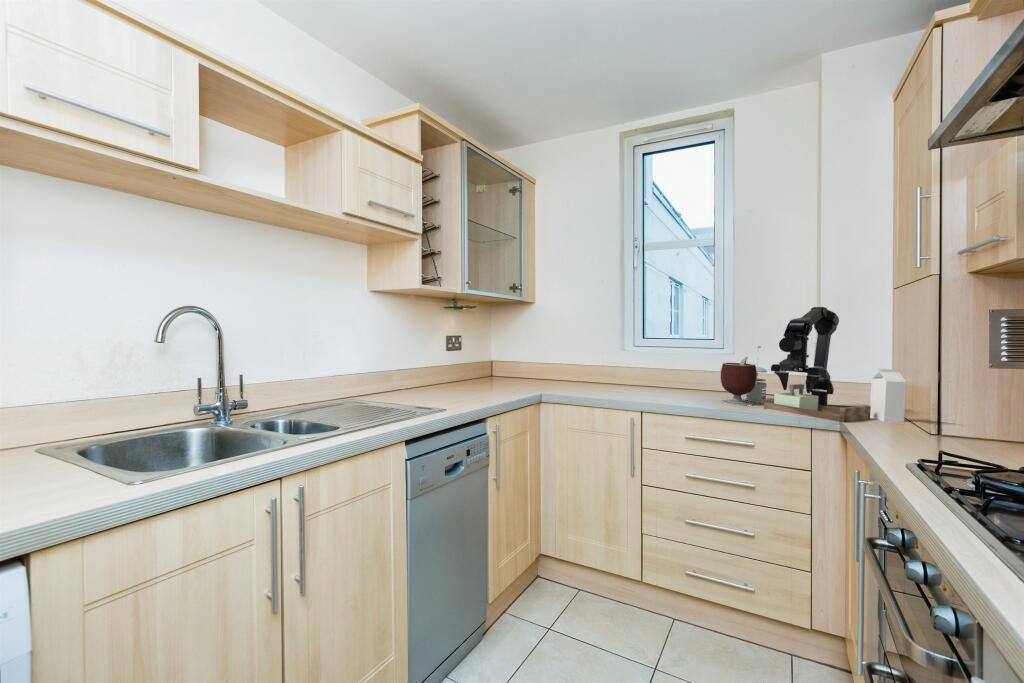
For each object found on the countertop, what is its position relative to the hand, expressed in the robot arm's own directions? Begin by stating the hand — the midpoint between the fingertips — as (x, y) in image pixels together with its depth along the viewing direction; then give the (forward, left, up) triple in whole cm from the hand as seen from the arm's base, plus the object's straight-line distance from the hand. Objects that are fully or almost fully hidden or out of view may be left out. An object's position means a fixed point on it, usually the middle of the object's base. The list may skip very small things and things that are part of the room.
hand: (796, 391), depth 186 cm
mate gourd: (+4, -23, -8) cm, 24 cm away
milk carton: (-14, +24, -8) cm, 29 cm away
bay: (0, +7, -8) cm, 11 cm away
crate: (0, 0, -7) cm, 7 cm away
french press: (-12, -26, -8) cm, 29 cm away
